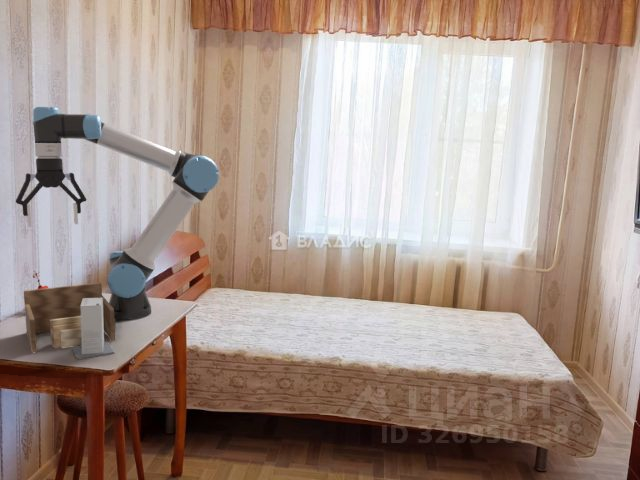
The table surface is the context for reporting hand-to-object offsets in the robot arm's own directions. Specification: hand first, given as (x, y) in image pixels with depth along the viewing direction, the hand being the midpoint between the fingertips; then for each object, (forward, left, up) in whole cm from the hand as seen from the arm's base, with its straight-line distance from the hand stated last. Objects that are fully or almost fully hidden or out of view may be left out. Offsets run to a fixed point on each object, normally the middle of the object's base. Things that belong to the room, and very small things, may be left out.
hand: (53, 225), depth 187 cm
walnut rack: (-2, +8, -35) cm, 36 cm away
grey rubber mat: (-6, +26, -35) cm, 44 cm away
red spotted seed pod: (+2, -27, -35) cm, 44 cm away
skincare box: (-6, +26, -34) cm, 44 cm away
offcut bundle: (-2, +16, -35) cm, 39 cm away
